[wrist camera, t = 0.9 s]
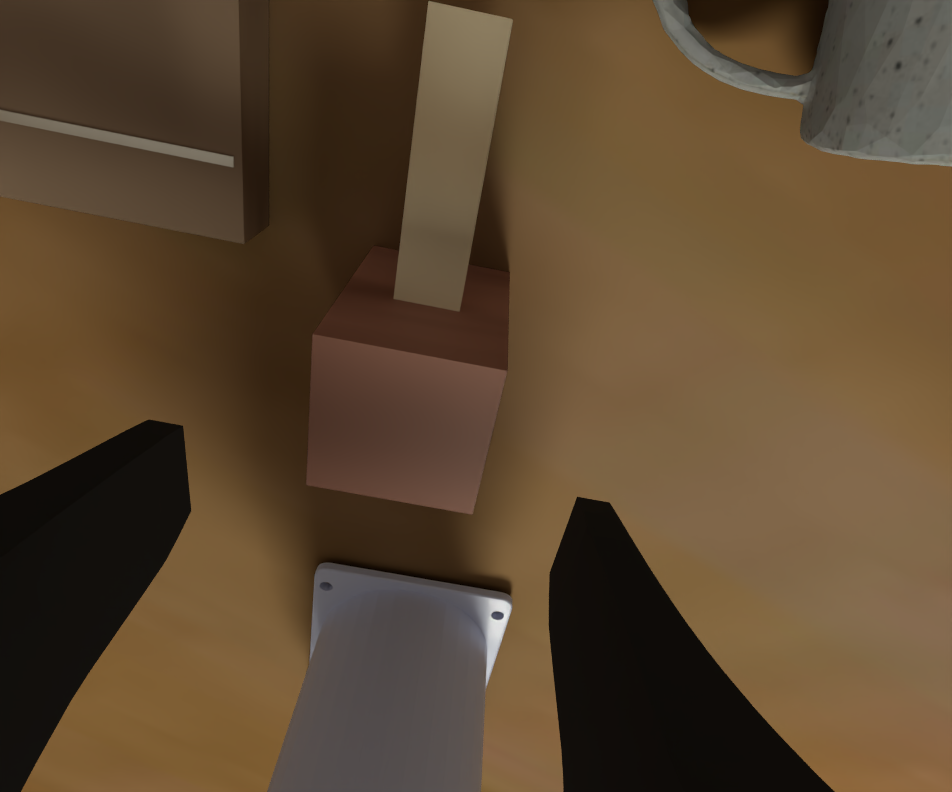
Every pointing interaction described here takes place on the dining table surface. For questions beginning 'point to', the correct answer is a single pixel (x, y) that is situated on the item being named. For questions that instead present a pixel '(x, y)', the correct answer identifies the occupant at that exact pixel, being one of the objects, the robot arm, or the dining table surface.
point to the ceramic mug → (856, 78)
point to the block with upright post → (422, 302)
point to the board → (139, 111)
